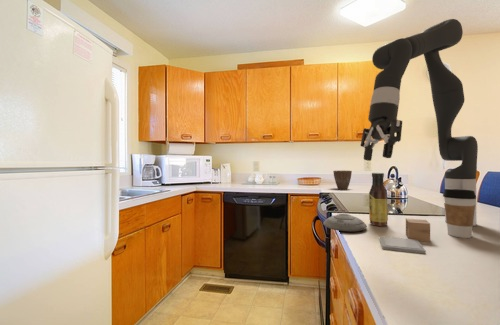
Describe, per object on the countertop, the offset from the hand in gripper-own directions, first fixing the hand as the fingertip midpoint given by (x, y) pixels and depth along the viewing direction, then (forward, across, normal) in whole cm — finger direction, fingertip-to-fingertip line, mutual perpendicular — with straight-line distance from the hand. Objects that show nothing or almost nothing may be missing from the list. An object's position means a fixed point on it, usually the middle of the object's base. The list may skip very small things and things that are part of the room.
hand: (376, 159), depth 73 cm
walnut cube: (+21, +5, -22) cm, 30 cm away
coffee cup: (+17, +5, -36) cm, 41 cm away
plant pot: (+1, +134, -67) cm, 150 cm away
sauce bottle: (+20, +22, -20) cm, 36 cm away
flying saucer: (+23, +21, -6) cm, 32 cm away
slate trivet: (+23, 0, -11) cm, 26 cm away
